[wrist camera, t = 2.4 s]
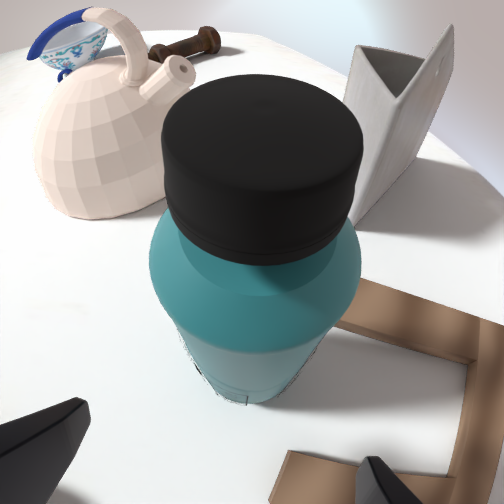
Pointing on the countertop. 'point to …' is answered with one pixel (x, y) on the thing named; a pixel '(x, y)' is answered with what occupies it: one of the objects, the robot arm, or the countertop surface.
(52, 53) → the chinaware
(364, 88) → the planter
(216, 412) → the countertop surface
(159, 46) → the bolt
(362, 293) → the notched board
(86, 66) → the kettle
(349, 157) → the beverage bottle
